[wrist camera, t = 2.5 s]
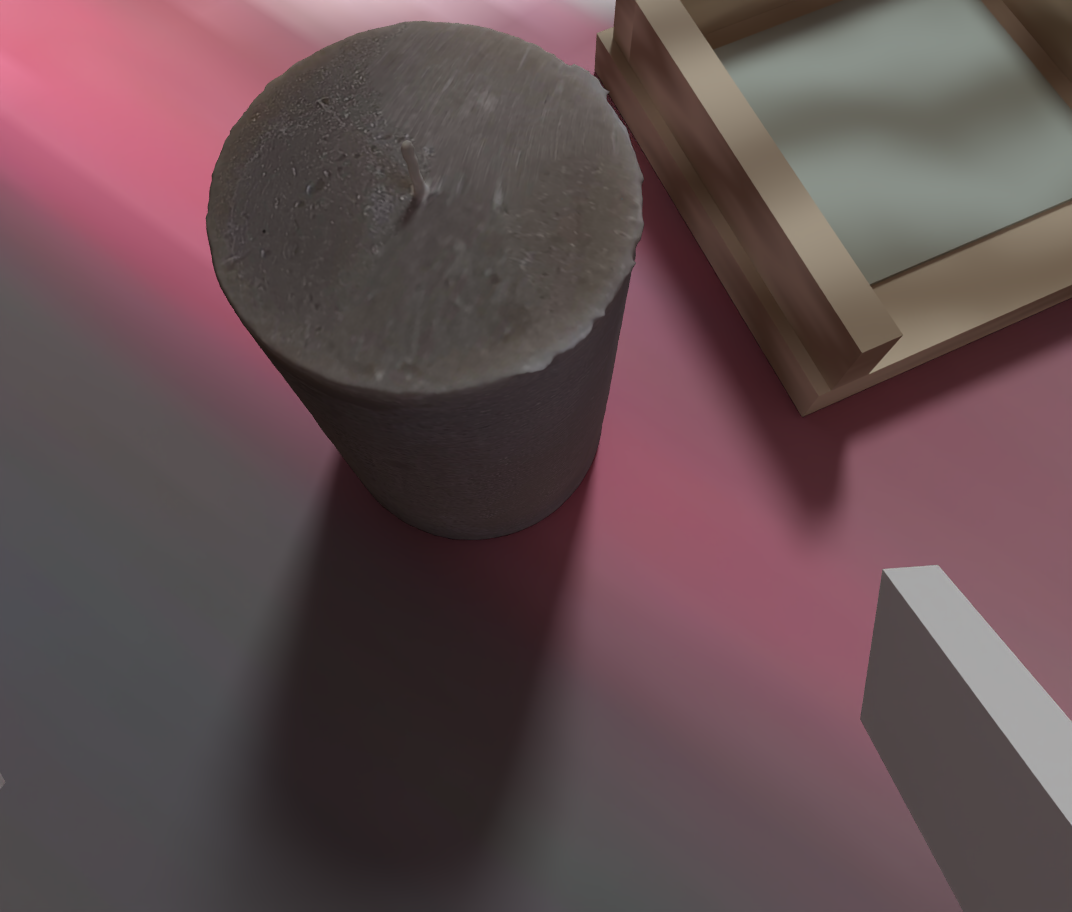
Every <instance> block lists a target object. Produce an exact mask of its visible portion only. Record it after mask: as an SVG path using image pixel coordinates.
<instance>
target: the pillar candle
mask: <svg viewBox="0 0 1072 912" xmlns="http://www.w3.org/2000/svg"><path fill="white" fill-rule="evenodd" d="M609 92H610V91H607V90H606V89H604V88H603V87H602V86H601V84H600V81H599V79H597V78H596V77H595V76H593V75H591V74H590V73H589V71H587V70H585V69H583V68H581V67H579V66H577V65H575V64H573V65H572V66H570V65H567V64H565V63H564V62H563V61H562V60H560V59H558V58H557V57H556V56H555V55H554V54H551V53H548V52H546V51H544V50H543V49H542V48H541V47H539V46H538V45H535V44H533V43H528V42H525V41H524V40H522V39H520V38H518V37H515V36H511V35H509V34H506V33H502V32H498V31H495V30H492V29H490V28H485V27H480V26H474V25H469V24H467V25H465V24H459V23H444V22H427V21H412V22H403V23H398V24H396V25H391V26H387V27H382V28H377V29H372V30H368V31H366V32H361V33H357V34H355V35H353V36H350V37H347V38H345V39H344V40H341V41H339V42H336V43H334V44H332V45H330V46H327V47H325V48H323V49H321V50H320V51H317V52H315V53H314V54H313V55H311V56H309V57H307V58H305V59H303V60H301V61H299V62H297V63H296V64H294V65H293V66H292V67H290V68H289V69H288V70H287V71H286V72H285V73H284V74H283V75H281V76H279V77H278V78H275V79H274V80H272V81H271V82H270V83H268V84H267V85H266V87H265V89H264V91H263V92H262V93H261V94H259V95H258V97H257V98H256V99H255V100H254V101H253V102H252V103H251V105H250V106H249V108H248V109H247V111H246V112H244V113H243V116H242V117H241V118H240V119H239V120H238V122H237V123H236V124H235V125H234V126H233V127H232V129H231V131H230V135H229V136H228V137H227V139H226V140H225V143H224V145H223V148H222V151H221V153H220V156H219V158H218V160H217V162H216V165H215V169H214V171H213V173H212V182H211V186H210V191H209V203H208V213H207V216H206V229H207V235H208V240H209V245H210V250H211V255H212V263H213V266H214V271H215V274H216V277H217V280H218V282H219V284H220V287H221V289H222V291H223V293H224V294H225V296H226V298H227V300H228V301H229V303H230V305H231V306H232V308H233V309H234V311H235V313H236V314H237V316H238V317H239V318H240V320H241V322H242V323H243V325H244V326H245V327H246V329H247V330H248V331H249V333H250V334H251V335H252V337H253V338H254V339H255V341H256V342H257V343H258V345H259V346H260V348H261V349H262V350H263V351H264V353H265V354H266V355H267V357H268V358H269V359H270V361H271V362H272V363H273V365H274V366H275V367H276V368H277V370H278V371H279V372H280V373H281V374H282V376H283V377H284V379H285V380H286V381H287V383H288V384H289V385H290V387H291V388H292V389H293V391H294V392H295V393H296V395H297V396H298V397H299V398H300V400H301V401H302V403H303V404H304V405H305V407H306V408H307V409H308V410H309V412H310V413H311V414H312V416H313V417H314V419H315V420H316V422H317V423H318V425H319V426H320V428H321V429H322V430H323V432H324V433H325V434H326V436H327V437H328V438H329V439H330V441H331V442H332V443H333V444H334V445H335V447H336V448H337V450H338V451H339V452H340V454H341V455H342V456H343V458H344V459H345V460H346V462H347V463H348V464H349V466H350V467H351V469H352V470H353V471H354V472H355V473H356V475H357V476H358V477H359V478H360V480H361V481H362V483H363V484H364V486H365V487H366V488H367V489H368V490H369V492H370V493H371V494H372V495H373V497H374V498H375V499H376V500H377V501H378V502H379V503H380V504H381V505H382V506H383V507H385V508H386V509H387V510H388V511H390V512H391V513H392V514H394V515H395V516H396V517H398V518H399V519H401V520H402V521H404V522H405V523H407V524H409V525H411V526H414V527H416V528H418V529H420V530H423V531H425V532H428V533H430V534H433V535H436V536H441V537H446V538H449V539H457V540H458V539H467V540H481V539H489V538H495V537H500V536H504V535H508V534H512V533H515V532H518V531H520V530H523V529H525V528H527V527H529V526H532V525H534V524H536V523H538V522H539V521H541V520H542V519H544V518H546V517H547V516H548V515H550V514H551V513H553V512H554V511H555V510H557V509H558V508H559V507H560V506H561V505H562V504H563V503H564V502H565V501H566V500H567V499H568V498H569V497H570V496H571V495H572V493H573V492H574V491H575V490H576V489H577V487H578V486H579V485H580V483H581V482H582V480H583V478H584V477H585V475H586V473H587V471H588V470H589V468H590V466H591V464H592V461H593V459H594V456H595V454H596V451H597V447H598V444H599V440H600V436H601V429H602V423H603V419H604V415H605V411H606V404H607V400H608V395H609V390H610V384H611V379H612V373H613V368H614V363H615V357H616V351H617V346H618V340H619V335H620V329H621V325H622V319H623V314H624V308H625V303H626V297H627V293H628V288H629V282H630V277H631V271H632V268H633V267H634V265H635V264H636V263H635V262H634V260H635V256H636V246H637V244H638V242H639V241H640V239H641V235H642V231H643V227H644V222H643V217H642V201H643V199H642V189H641V186H642V182H643V181H644V178H643V174H642V173H641V170H640V167H639V164H638V161H637V158H636V155H635V151H634V150H633V147H632V145H631V141H630V138H629V134H628V132H627V128H626V127H625V126H624V125H623V123H622V121H621V120H620V119H619V118H618V115H617V114H616V113H615V111H614V109H613V108H612V107H611V105H610V104H609V103H608V102H607V94H608V93H609Z"/></svg>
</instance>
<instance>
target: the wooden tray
mask: <svg viewBox="0 0 1072 912" xmlns="http://www.w3.org/2000/svg"><path fill="white" fill-rule="evenodd" d="M595 72H596V74H597V75H598V77H599V79H600V80H601V82H602V84H603V85H604V87H605V89H606V90H607V91H610V92H609V93H608V94H609V95H610V97H611V99H612V100H613V102H614V104H615V105H616V107H617V109H618V110H619V112H620V114H621V115H622V117H623V119H624V120H625V122H626V124H627V125H628V127H629V129H630V130H631V132H632V134H633V135H634V137H635V139H636V140H637V142H638V144H639V145H640V147H641V149H642V150H643V152H644V154H645V155H646V157H647V159H648V160H649V162H650V164H651V165H652V167H653V169H654V170H655V172H656V174H657V176H658V177H659V179H660V181H661V182H662V184H663V186H664V187H665V189H666V191H667V192H668V194H669V196H670V197H671V199H672V201H673V202H674V204H675V206H676V207H677V209H678V211H679V212H680V214H681V216H682V217H683V219H684V221H685V222H686V224H687V226H688V227H689V229H690V231H691V232H692V234H693V236H694V237H695V239H696V241H697V242H698V244H699V246H700V247H701V249H702V251H703V252H704V254H705V256H706V257H707V259H708V261H709V262H710V264H711V266H712V267H713V269H714V271H715V272H716V274H717V276H718V277H719V279H720V281H721V282H722V284H723V286H724V287H725V289H726V291H727V292H728V294H729V296H730V297H731V299H732V301H733V302H734V304H735V306H736V307H737V309H738V311H739V312H740V314H741V316H742V317H743V319H744V321H745V322H746V324H747V326H748V327H749V329H750V331H751V332H752V334H753V336H754V338H755V339H756V341H757V343H758V344H759V346H760V348H761V349H762V351H763V353H764V354H765V356H766V358H767V359H768V361H769V363H770V364H771V366H772V368H773V369H774V371H775V373H776V374H777V376H778V378H779V379H780V381H781V383H782V384H783V386H784V388H785V389H786V391H787V393H788V394H789V396H790V398H791V399H792V401H793V403H794V404H795V406H796V408H797V409H798V411H799V413H800V414H801V416H802V417H804V416H806V415H808V414H810V413H813V412H815V411H817V410H819V409H822V408H824V407H826V406H828V405H831V404H833V403H835V402H837V401H840V400H842V399H844V398H846V397H849V396H851V395H853V394H855V393H858V392H860V391H862V390H864V389H867V388H869V387H871V386H873V385H876V384H878V383H880V382H882V381H885V380H887V379H889V378H892V377H894V376H896V375H898V374H901V373H903V372H905V371H907V370H910V369H912V368H914V367H916V366H919V365H921V364H923V363H925V362H928V361H930V360H932V359H934V358H937V357H939V356H941V355H943V354H946V353H948V352H950V351H952V350H955V349H957V348H959V347H961V346H964V345H966V344H968V343H970V342H973V341H975V340H977V339H979V338H982V337H984V336H986V335H989V334H991V333H993V332H995V331H998V330H1000V329H1002V328H1004V327H1007V326H1009V325H1011V324H1013V323H1016V322H1018V321H1020V320H1022V319H1025V318H1027V317H1029V316H1031V315H1034V314H1036V313H1038V312H1040V311H1043V310H1045V309H1047V308H1049V307H1052V306H1054V305H1056V304H1058V303H1061V302H1063V301H1065V300H1067V299H1070V298H1072V0H616V6H615V18H614V27H612V28H610V29H607V30H604V31H602V32H599V33H597V38H596V55H595Z"/></svg>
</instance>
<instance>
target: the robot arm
mask: <svg viewBox="0 0 1072 912" xmlns="http://www.w3.org/2000/svg"><path fill="white" fill-rule="evenodd" d="M860 720H861V721H862V723H863V725H864V727H865V729H866V731H867V733H868V735H869V736H870V738H871V740H872V742H873V744H874V746H875V748H876V749H877V751H878V753H879V755H880V757H881V759H882V761H883V762H884V764H885V766H886V768H887V770H888V772H889V774H890V776H891V777H892V779H893V781H894V783H895V785H896V787H897V789H898V790H899V792H900V794H901V796H902V798H903V800H904V802H905V804H906V805H907V807H908V809H909V811H910V813H911V815H912V817H913V818H914V820H915V822H916V824H917V826H918V828H919V830H920V832H921V833H922V835H923V837H924V839H925V841H926V843H927V845H928V846H929V848H930V850H931V852H932V854H933V856H934V858H935V859H936V861H937V863H938V865H939V867H940V869H941V871H942V873H943V874H944V876H945V878H946V880H947V882H948V884H949V886H950V887H951V889H952V891H953V893H954V895H955V897H956V899H957V901H958V902H959V904H960V906H961V908H962V910H963V912H1072V722H1071V720H1070V719H1069V718H1068V717H1067V716H1066V715H1065V713H1064V712H1063V711H1062V710H1061V709H1060V707H1059V706H1058V705H1057V704H1056V703H1055V702H1054V700H1053V699H1052V698H1051V697H1050V696H1049V695H1048V693H1047V692H1046V691H1045V690H1044V689H1043V688H1042V686H1041V685H1040V684H1039V683H1038V682H1037V681H1036V679H1035V678H1034V677H1033V676H1032V675H1031V673H1030V672H1029V671H1028V670H1027V669H1026V668H1025V666H1024V665H1023V664H1022V663H1021V662H1020V661H1019V659H1018V658H1017V657H1016V656H1015V655H1014V654H1013V652H1012V651H1011V650H1010V649H1009V648H1008V647H1007V645H1006V644H1005V643H1004V642H1003V641H1002V640H1001V638H1000V637H999V636H998V635H997V634H996V632H995V631H994V630H993V629H992V628H991V627H990V625H989V624H988V623H987V622H986V621H985V620H984V618H983V617H982V616H981V615H980V614H979V613H978V611H977V610H976V609H975V608H974V607H973V606H972V604H971V603H970V602H969V601H968V600H967V598H966V597H965V596H964V595H963V594H962V593H961V591H960V590H959V589H958V588H957V587H956V586H955V584H954V583H953V582H952V581H951V580H950V579H949V577H948V576H947V575H946V574H945V573H944V572H943V570H942V569H941V568H940V567H939V566H938V565H932V566H919V567H905V568H891V569H883V570H882V577H881V583H880V590H879V597H878V603H877V610H876V617H875V623H874V630H873V637H872V644H871V650H870V657H869V664H868V670H867V677H866V684H865V690H864V697H863V704H862V711H861V717H860ZM4 783H5V781H4V779H3V777H2V775H1V773H0V789H1V787H2V786H3V784H4Z"/></svg>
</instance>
